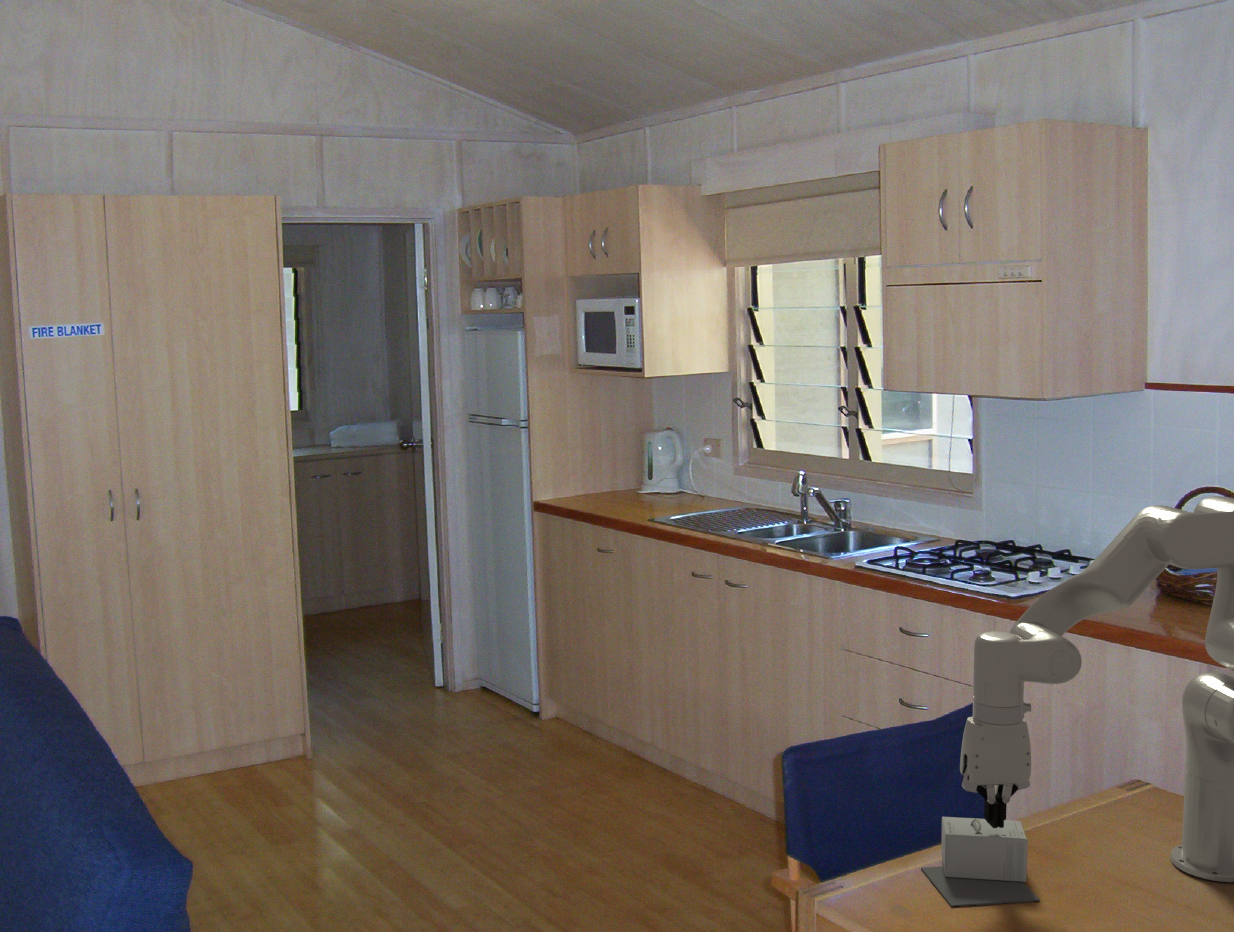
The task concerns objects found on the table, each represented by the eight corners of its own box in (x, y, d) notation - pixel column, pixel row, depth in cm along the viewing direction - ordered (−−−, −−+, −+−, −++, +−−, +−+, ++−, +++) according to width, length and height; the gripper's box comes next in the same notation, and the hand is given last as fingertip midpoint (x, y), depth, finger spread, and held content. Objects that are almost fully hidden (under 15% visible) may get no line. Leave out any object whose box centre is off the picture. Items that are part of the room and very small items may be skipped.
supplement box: (1028, 838, 192) (945, 834, 194) (1027, 883, 193) (944, 878, 195) (1021, 819, 200) (941, 815, 202) (1020, 862, 200) (940, 858, 203)
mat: (1004, 864, 201) (1004, 862, 201) (1039, 901, 188) (1040, 899, 188) (921, 869, 199) (921, 867, 199) (951, 907, 186) (951, 905, 186)
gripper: (1033, 702, 197) (1029, 813, 199) (942, 706, 195) (940, 818, 197) (1054, 717, 189) (1050, 832, 191) (960, 722, 188) (958, 837, 190)
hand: (994, 824), depth 194 cm, fingers closed
